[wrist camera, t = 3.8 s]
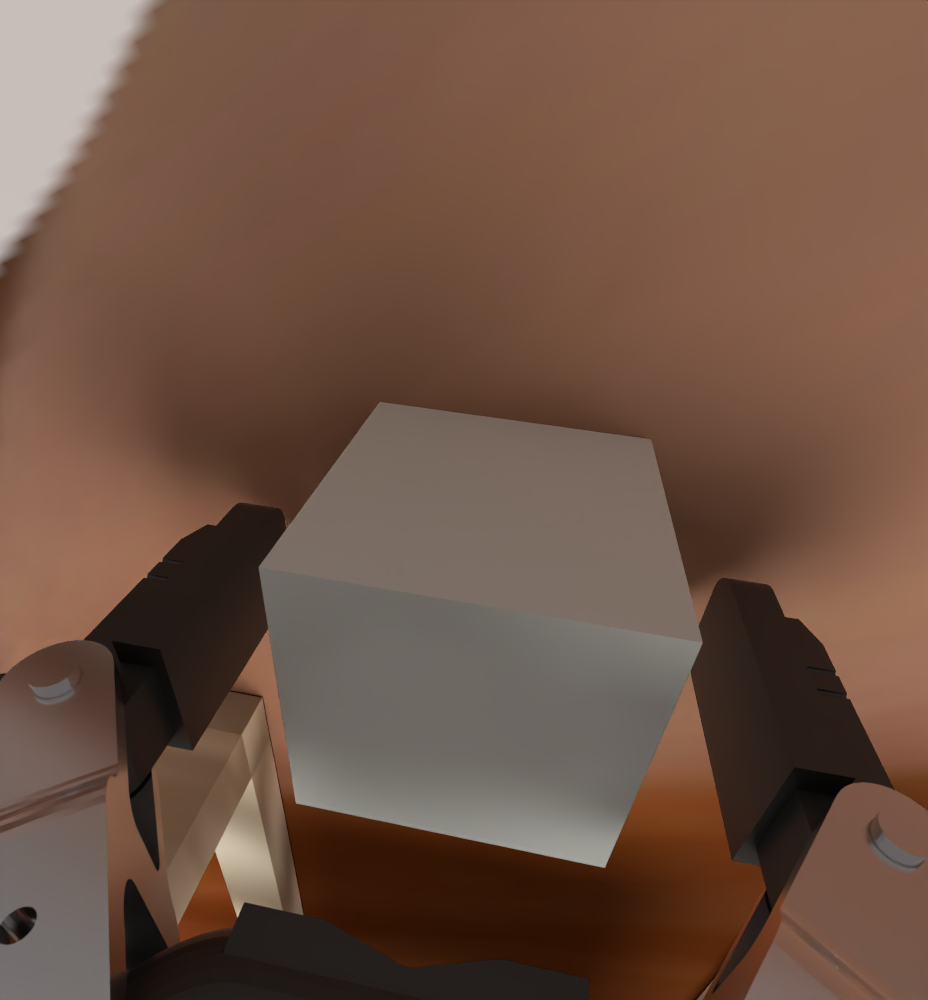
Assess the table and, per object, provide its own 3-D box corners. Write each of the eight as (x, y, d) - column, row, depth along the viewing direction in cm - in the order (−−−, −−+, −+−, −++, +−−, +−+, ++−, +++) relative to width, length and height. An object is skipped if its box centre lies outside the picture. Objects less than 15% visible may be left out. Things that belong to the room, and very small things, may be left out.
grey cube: (381, 400, 11) (258, 566, 7) (650, 437, 10) (702, 642, 6) (381, 597, 13) (295, 803, 9) (594, 633, 13) (604, 867, 9)
